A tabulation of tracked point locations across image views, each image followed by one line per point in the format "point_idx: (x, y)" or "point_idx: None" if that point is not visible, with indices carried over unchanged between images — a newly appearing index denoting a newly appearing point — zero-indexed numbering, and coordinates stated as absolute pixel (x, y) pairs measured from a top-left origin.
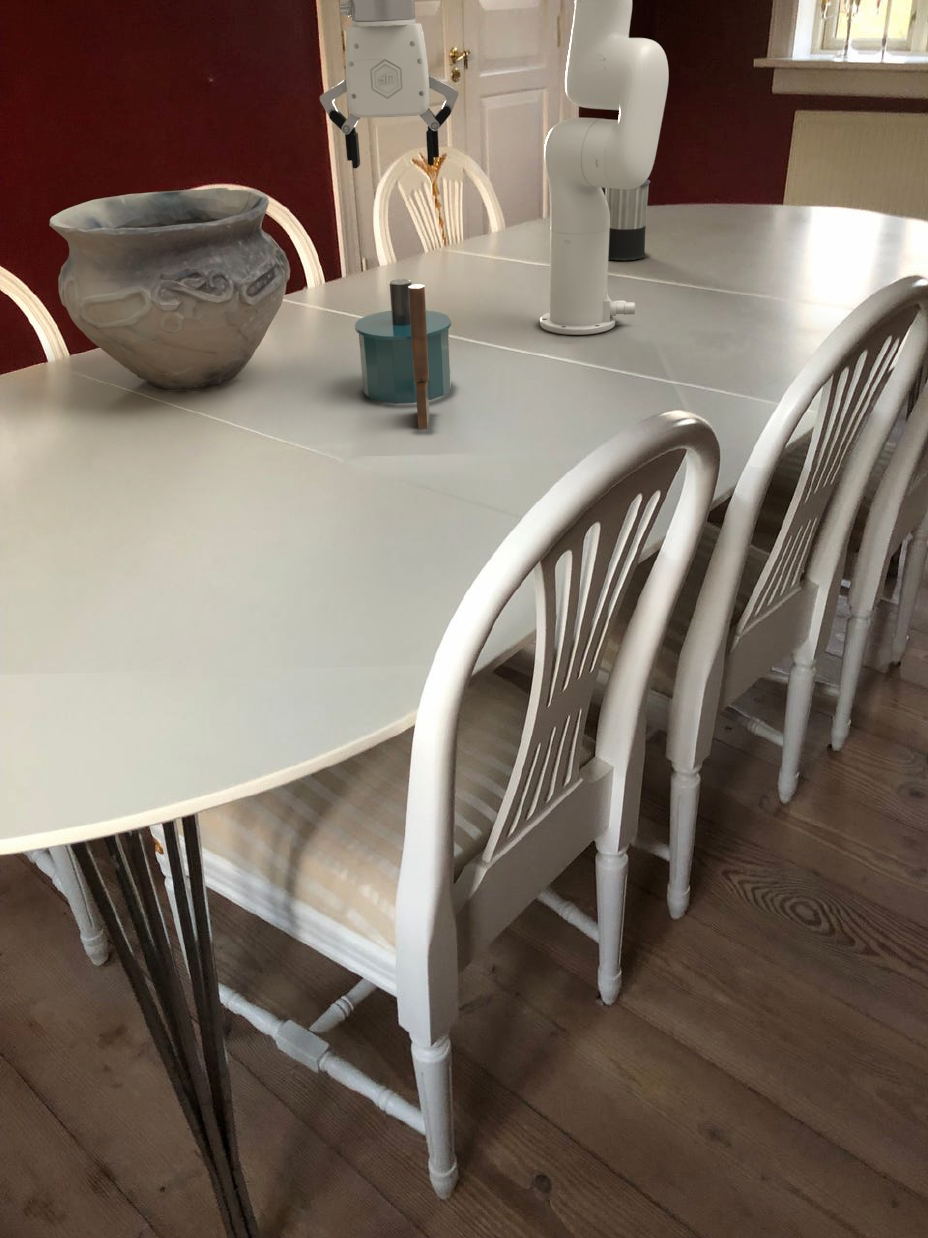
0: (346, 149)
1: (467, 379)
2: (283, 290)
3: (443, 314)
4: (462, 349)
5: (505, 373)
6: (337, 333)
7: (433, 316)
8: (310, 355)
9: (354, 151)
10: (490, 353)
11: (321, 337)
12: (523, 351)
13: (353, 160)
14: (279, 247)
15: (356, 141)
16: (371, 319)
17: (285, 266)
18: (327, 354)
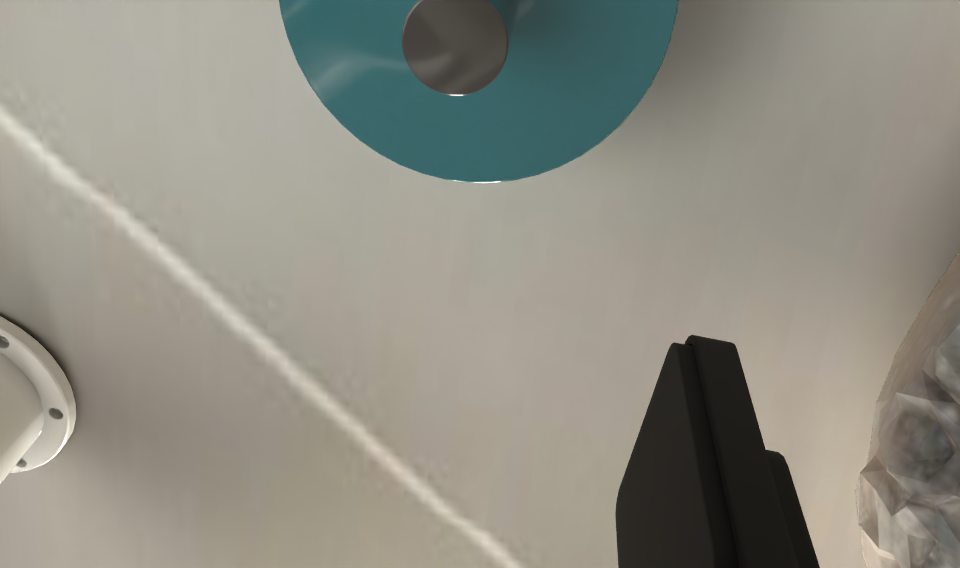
0: (800, 515)
1: None
2: (912, 350)
3: (304, 64)
4: (296, 288)
5: (175, 41)
6: None
7: (345, 48)
8: None
9: (724, 425)
10: (217, 233)
11: None
12: (121, 223)
13: (729, 372)
14: (936, 529)
15: (691, 542)
16: (594, 80)
17: (907, 441)
18: None
